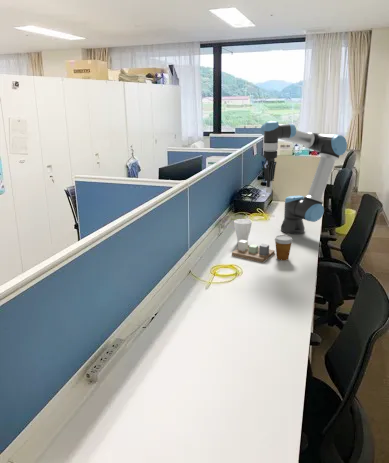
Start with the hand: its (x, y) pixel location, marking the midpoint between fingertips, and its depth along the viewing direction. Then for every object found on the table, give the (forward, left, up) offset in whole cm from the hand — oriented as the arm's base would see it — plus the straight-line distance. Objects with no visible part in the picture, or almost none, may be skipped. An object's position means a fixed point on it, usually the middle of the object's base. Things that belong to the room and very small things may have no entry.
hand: (268, 192), depth 233 cm
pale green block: (+17, 0, -32) cm, 36 cm away
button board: (+17, 0, -32) cm, 37 cm away
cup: (+3, -15, -33) cm, 36 cm away
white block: (+17, -7, -31) cm, 36 cm away
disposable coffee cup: (+14, +16, -33) cm, 39 cm away
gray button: (+17, +6, -31) cm, 36 cm away
